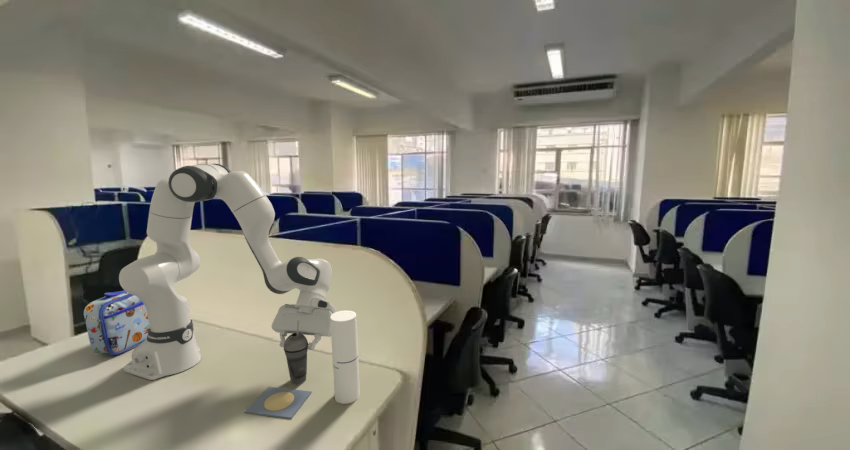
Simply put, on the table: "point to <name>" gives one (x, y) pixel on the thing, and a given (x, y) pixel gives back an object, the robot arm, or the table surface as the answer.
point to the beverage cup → (296, 356)
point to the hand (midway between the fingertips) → (296, 348)
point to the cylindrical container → (345, 356)
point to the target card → (278, 402)
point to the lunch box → (116, 323)
